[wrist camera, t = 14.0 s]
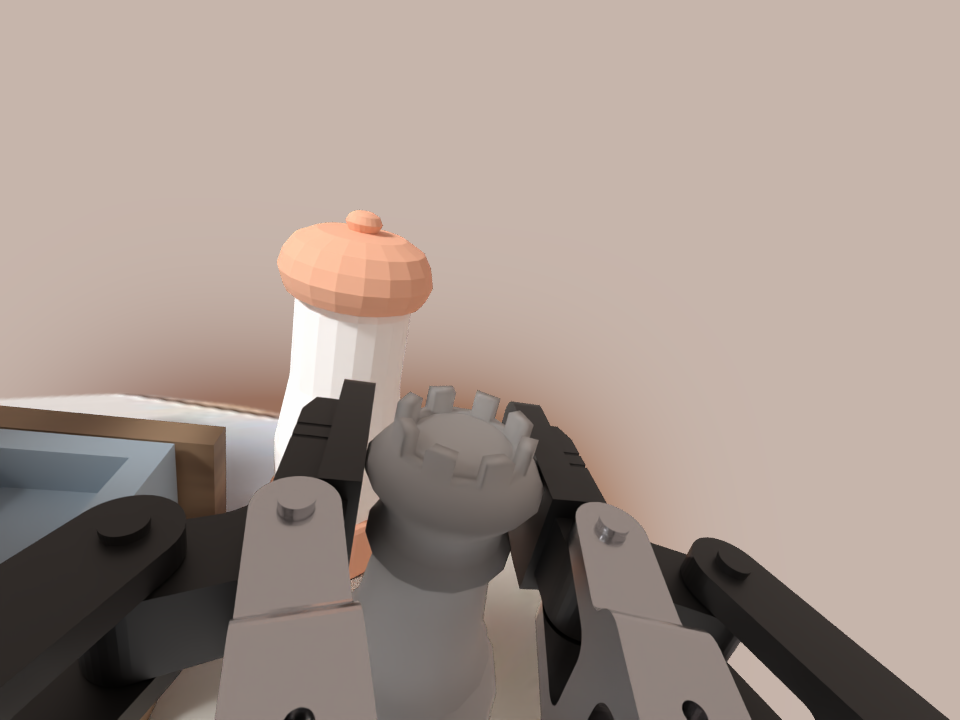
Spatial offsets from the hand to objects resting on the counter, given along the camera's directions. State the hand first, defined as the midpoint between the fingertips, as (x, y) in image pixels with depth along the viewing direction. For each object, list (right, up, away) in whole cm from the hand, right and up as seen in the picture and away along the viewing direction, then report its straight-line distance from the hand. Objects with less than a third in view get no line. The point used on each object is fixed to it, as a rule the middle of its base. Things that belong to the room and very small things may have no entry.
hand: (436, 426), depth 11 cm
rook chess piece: (-1, -7, 0) cm, 7 cm away
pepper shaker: (-8, -9, +17) cm, 21 cm away
